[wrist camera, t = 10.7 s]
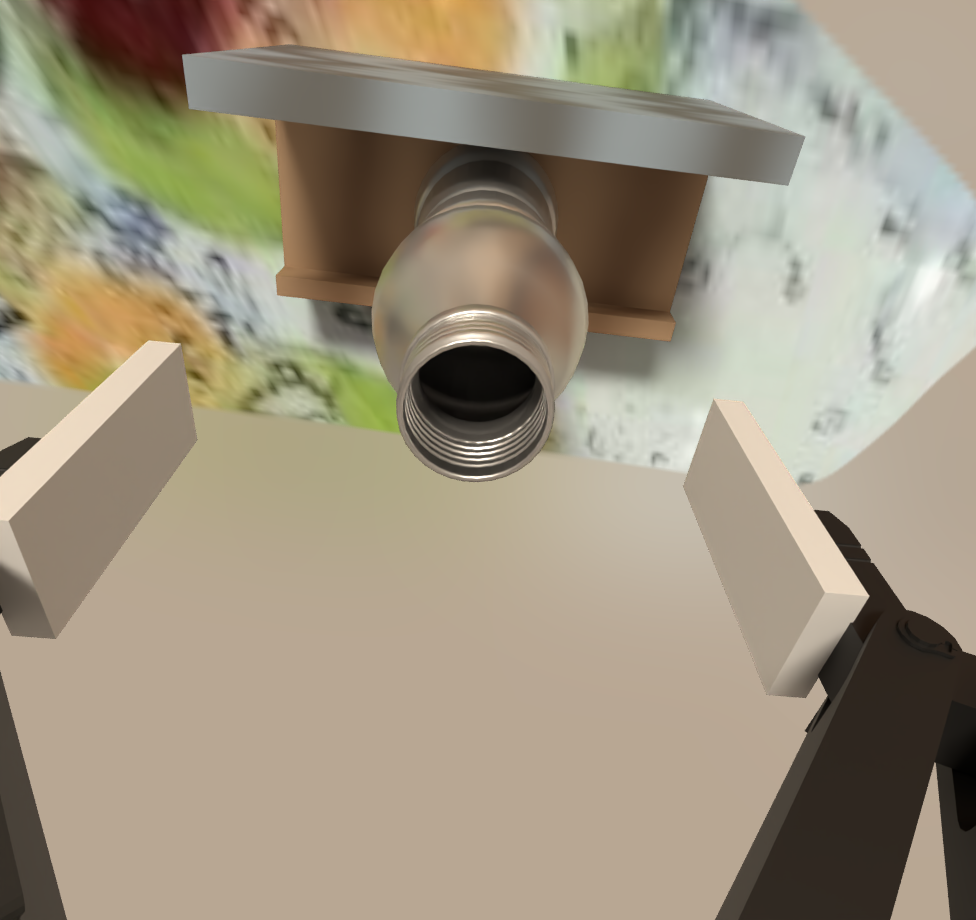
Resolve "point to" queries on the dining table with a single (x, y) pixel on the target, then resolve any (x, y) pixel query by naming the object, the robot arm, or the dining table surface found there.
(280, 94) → the brown wooden box
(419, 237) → the silver metal bottle
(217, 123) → the dining table surface
